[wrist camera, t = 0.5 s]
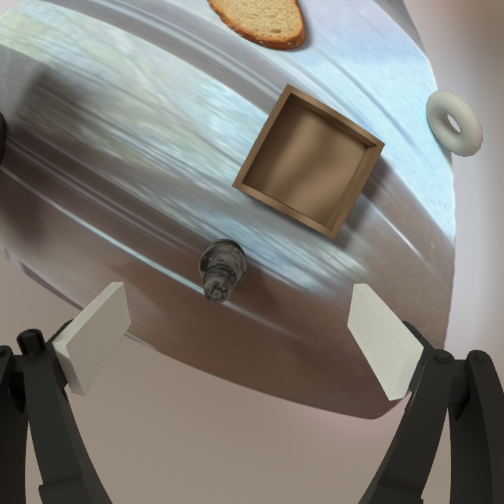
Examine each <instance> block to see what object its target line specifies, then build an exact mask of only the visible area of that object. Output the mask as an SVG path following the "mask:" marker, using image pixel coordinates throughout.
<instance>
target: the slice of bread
mask: <svg viewBox="0 0 504 504" xmlns="http://www.w3.org/2000/svg"><path fill="white" fill-rule="evenodd" d="M207 2H208V3H209V6H210V8H211V9H212V10H213V11H215V12H216V13H217V14H218V15H219V17H220V19H221V21H222V22H223V23H225V24H226V25H227V26H228V27H229V28H230V29H232V30H233V31H234V32H236V33H237V34H238V35H240V36H241V37H243V38H245V39H247V40H249V41H251V42H253V43H256V44H258V45H261V46H264V47H268V48H272V49H281V50H286V49H295V48H297V47H299V46H300V45H301V44H303V43H304V41H305V32H304V24H303V19H302V16H301V11H300V9H299V8H298V4H297V2H296V0H207Z"/></svg>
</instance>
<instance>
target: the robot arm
mask: <svg viewBox="0 0 504 504" xmlns="http://www.w3.org/2000/svg"><path fill="white" fill-rule="evenodd" d="M4 143H5V128H4V122H3V118H2V116H1V114H0V163H1V160H2V156H3V150H4ZM130 325H131V321H130V316H129V311H128V305H127V300H126V294H125V287H124V282H112V283H111V284H110V285H109V286H107V287H106V288H105V289H104V290H103V291H102V292H101V293H100V294H99V295H98V296H97V297H96V298H95V299H94V300H93V301H92V302H91V303H90V304H89V305H88V306H87V307H86V308H85V309H84V310H83V311H82V312H81V313H80V314H79V315H78V316H77V317H76V318H75V319H72V320H70V321H68V322H66V323H65V324H64V325H63V326H62V327H61V328H60V329H59V330H58V331H57V332H56V334H54V335H53V336H52V337H51V338H50V339H49V340H48V341H47V342H46V343H45V341H44V338H43V335H42V332H41V331H40V330H38V329H28V330H25V331H23V332H22V333H20V334H19V335H18V337H17V339H16V340H17V342H18V345H19V347H20V350H21V352H22V355H14V354H13V352H12V349H11V348H10V347H9V346H5V345H3V346H0V504H26V496H25V456H26V441H27V430H28V421H29V424H30V430H31V435H32V440H33V445H34V450H35V454H36V458H37V462H38V466H39V470H40V473H41V477H42V480H43V485H39V488H38V489H39V494H40V497H41V500H42V503H43V504H112V502H111V500H110V498H109V497H108V495H107V493H106V491H105V489H104V488H103V485H102V483H101V481H100V479H99V477H98V475H97V473H96V471H95V469H94V466H93V464H92V462H91V460H90V458H89V455H88V453H87V451H86V448H85V446H84V443H83V441H82V438H81V436H80V433H79V430H78V427H77V425H76V422H75V419H74V416H73V413H72V410H71V407H70V404H69V400H68V397H67V394H66V392H65V389H64V387H65V386H66V384H67V383H68V385H69V387H70V389H71V391H72V393H75V394H79V395H83V396H86V394H87V392H88V391H89V389H90V387H91V385H92V384H93V382H94V381H95V379H96V378H97V376H98V374H99V373H100V371H101V369H102V368H103V366H104V365H105V363H106V361H107V360H108V358H109V357H110V355H111V354H112V352H113V351H114V348H115V347H116V346H117V344H118V343H119V341H120V340H121V338H122V337H123V335H124V334H125V332H126V331H127V329H128V328H129V326H130ZM347 326H348V328H349V329H350V331H351V333H352V335H353V336H354V338H355V340H356V341H357V343H358V345H359V347H360V348H361V350H362V352H363V354H364V355H365V357H366V359H367V361H368V362H369V364H370V366H371V368H372V369H373V371H374V373H375V375H376V377H377V378H378V380H379V382H380V384H381V386H382V387H383V389H384V391H385V393H386V395H387V397H388V399H389V400H395V399H400V398H404V397H405V395H406V392H407V390H408V388H409V389H410V390H411V392H412V395H411V397H410V399H409V402H408V404H407V406H406V408H405V413H404V415H403V417H402V420H401V422H400V424H399V427H398V429H397V432H396V434H395V436H394V438H393V440H392V442H391V445H390V447H389V449H388V451H387V453H386V455H385V457H384V459H383V461H382V463H381V465H380V467H379V468H378V471H377V472H376V474H375V476H374V478H373V479H372V481H371V483H370V485H369V486H368V488H367V490H366V492H365V493H364V495H363V496H362V498H361V500H360V501H359V503H358V504H423V500H422V499H421V495H422V492H423V489H424V487H425V484H426V482H427V479H428V476H429V473H430V470H431V467H432V464H433V461H434V458H435V455H436V451H437V448H438V445H439V441H440V437H441V433H442V430H443V425H444V421H445V416H446V412H447V407H448V412H449V423H450V424H449V425H450V440H451V490H450V504H504V393H503V389H502V386H501V383H500V381H499V378H498V375H497V372H496V370H495V367H494V364H493V362H492V360H491V358H490V356H489V355H488V354H487V353H485V352H483V351H480V350H473V351H470V352H469V354H468V356H467V358H466V360H455V359H454V357H453V356H452V354H450V353H449V352H447V351H445V350H441V349H434V348H433V347H432V346H431V345H430V344H429V342H428V341H427V340H426V339H425V338H424V337H422V335H421V334H420V332H418V330H417V329H416V328H415V327H414V326H413V325H411V324H410V323H408V322H406V321H400V320H399V318H398V317H397V316H396V315H395V314H394V313H393V312H392V311H391V310H390V309H389V307H388V306H387V305H386V304H385V303H384V302H383V301H382V300H381V299H380V298H379V297H378V296H377V295H376V293H375V292H374V291H373V290H372V289H371V288H370V287H369V286H368V285H367V284H354V288H353V295H352V301H351V308H350V313H349V319H348V325H347Z"/></svg>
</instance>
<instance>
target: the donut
mask: <svg viewBox="0 0 504 504" xmlns="http://www.w3.org/2000/svg"><path fill="white" fill-rule="evenodd" d="M426 114H427V119H428V122H429V125H430V127H431V129H432V131H433V133H434V134H435V136H436V137H437V139H438V140H439V141H440V142H441V143H442V145H444V146H445V147H446V148H447V149H448V150H449V151H451V152H453V153H454V154H457V155H459V156H463V157H467V156H472V155H474V154H475V153H476V152H477V151H478V150H479V149H480V147H481V144H482V141H483V134H482V127H481V124H480V121H479V118H478V116H477V115H476V113H475V111H474V109H473V108H472V107H471V106H470V105H469V103H468V102H467V101H466V100H465V99H463V98H462V97H461V96H459V95H458V94H456V93H454V92H451V91H448V90H438V91H436V92H434V93H433V94H431V95H430V96H429V98H428V101H427V103H426ZM447 114H449V115H450V116H451V117H452V118H453V119H454V120H455V121H456V123H457V124H458V126H459V128H460V132H461V133H459V132H458V131H457V130H455V128H454V127H453V126H452V125H451V123H450V122H449V119H448V116H447Z"/></svg>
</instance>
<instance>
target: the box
mask: <svg viewBox="0 0 504 504" xmlns="http://www.w3.org/2000/svg"><path fill="white" fill-rule="evenodd" d="M384 145H385V144H384V143H383V142H382V141H380V140H379V139H377V138H376V137H375V136H373V135H372V134H370V133H369V132H367V131H366V130H365V129H363V128H362V127H360V126H359V125H357V124H356V123H354V122H353V121H351V120H349V119H348V118H346V117H345V116H343V115H342V114H340V113H338V112H337V111H335V110H334V109H332V108H330V107H329V106H327V105H325V104H324V103H322V102H320V101H318V100H317V99H315V98H313V97H311V96H310V95H308V94H306V93H304V92H302V91H300V90H299V89H297V88H295V87H293V86H291V85H289V84H287V86H286V87H285V89H284V91H283V92H282V94H281V96H280V98H279V99H278V101H277V103H276V105H275V106H274V108H273V110H272V112H271V114H270V115H269V117H268V119H267V121H266V123H265V124H264V126H263V128H262V130H261V132H260V134H259V135H258V137H257V139H256V141H255V143H254V145H253V147H252V148H251V150H250V152H249V154H248V156H247V158H246V160H245V162H244V163H243V165H242V167H241V169H240V171H239V173H238V175H237V177H236V179H235V181H234V183H233V185H232V187H234V188H236V189H238V190H240V191H242V192H244V193H246V194H248V195H250V196H252V197H254V198H256V199H258V200H260V201H262V202H264V203H266V204H268V205H270V206H272V207H274V208H276V209H278V210H280V211H281V212H283V213H285V214H287V215H289V216H291V217H293V218H295V219H297V220H298V221H300V222H302V223H304V224H306V225H308V226H310V227H311V228H313V229H315V230H317V231H319V232H321V233H322V234H324V235H326V236H328V237H330V238H331V239H333V240H335V238H336V236H337V234H338V233H339V231H340V229H341V227H342V226H343V224H344V222H345V220H346V218H347V217H348V215H349V213H350V211H351V209H352V207H353V206H354V204H355V202H356V200H357V198H358V196H359V194H360V192H361V191H362V189H363V187H364V185H365V183H366V181H367V179H368V177H369V175H370V173H371V171H372V169H373V167H374V165H375V163H376V162H377V160H378V158H379V155H380V153H381V151H382V149H383V147H384Z"/></svg>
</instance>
